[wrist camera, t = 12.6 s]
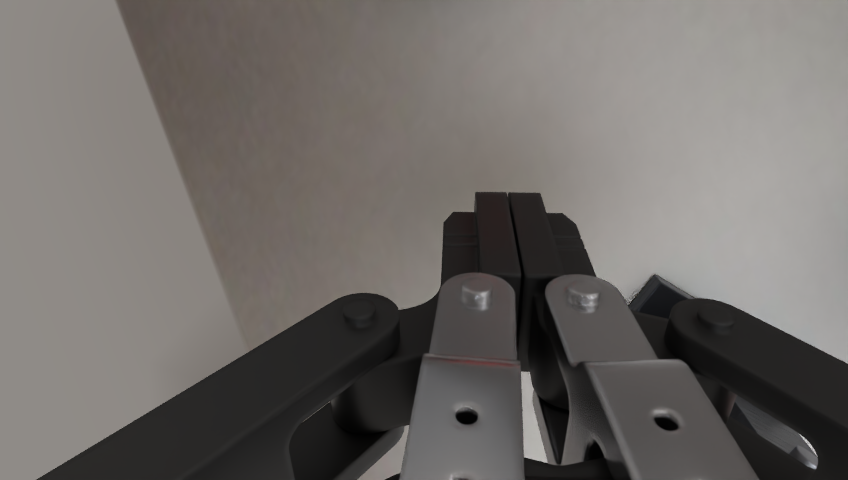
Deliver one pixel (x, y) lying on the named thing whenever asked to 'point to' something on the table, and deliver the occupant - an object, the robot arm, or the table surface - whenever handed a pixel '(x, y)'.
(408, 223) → the table surface
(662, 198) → the table surface
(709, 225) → the table surface
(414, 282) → the table surface
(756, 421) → the black lever mount
